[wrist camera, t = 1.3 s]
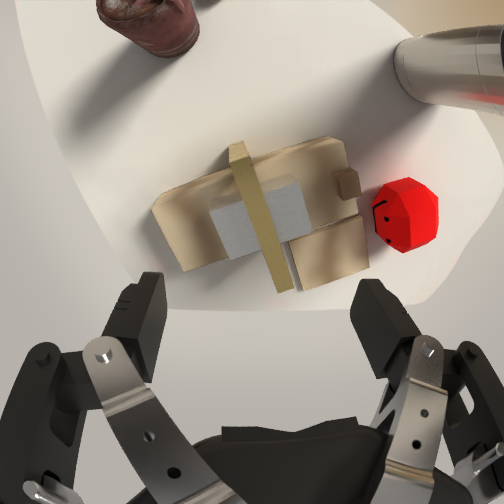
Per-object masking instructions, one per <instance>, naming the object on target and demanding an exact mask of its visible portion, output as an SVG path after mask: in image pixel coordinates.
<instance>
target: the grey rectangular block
mask: <svg viewBox="0 0 504 504" xmlns="http://www.w3.org/2000/svg"><path fill="white" fill-rule="evenodd" d="M260 186H261V189H262V192H263V195H264V198H265V200H266V203H267V206H268V209H269V212H270V215H271V218H272V221H273V224H274V227H275V230H276V233H277V236H278V239H279V242H280V243H283V242H286V241H289V240H292V239H295V238H298V237H300V236H303V235H306V234H309V233H312V232H313V231H312V227H311V224H310V220H309V216H308V212H307V209H306V205H305V202H304V198H303V195H302V191H301V188H300V184H299V181H298V180H297V179H296V178H295V177H294V176H293V175H292V174H291V173H288V174H284V175H281V176H278V177H275V178H272V179H269V180H266V181H263V182H260ZM209 213H210V216H211V218H212V220H213V223H214V225H215V227H216V229H217V232H218V234H219V236H220V238H221V241H222V243H223V245H224V248H225V250H226V252H227V254H228V257H229V259H230V260H233V259H236V258H238V257H241V256H244V255H247V254H250V253H253V252H256V251H259V250H262V249H261V246H260V244H259V241H258V238H257V236H256V233H255V230H254V228H253V225H252V222H251V220H250V217H249V214H248V212H247V209H246V206H245V204H244V201H243V198H242V196H241V193H240V190H238V191H235V192H232V193H229V194H227V195H224V196H221V197H218V198H216V199H213V200H211V206H210V212H209Z"/></svg>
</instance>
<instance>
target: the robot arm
mask: <svg viewBox="0 0 504 504" xmlns="http://www.w3.org/2000/svg"><path fill="white" fill-rule="evenodd" d="M394 66H395V71H396V74H397V77H398V79H399V81H400V83H401V85H402V87H403V88H404V89H405V91H406V92H407V93H408V94H409V95H410V96H411V97H413V98H414V99H416V100H417V101H420V102H422V103H430V104H438V105H445V106H452V107H459V108H465V109H471V110H476V111H481V112H487V113H491V114H496V115H500V116H504V24H498V25H486V26H476V27H468V28H460V29H453V30H447V31H441V32H436V33H431V34H426V35H422V36H417V37H413V38H409V39H405V40H404V41H402V42H401V43H400V44H399V45H398V47H397V49H396V51H395V56H394ZM166 318H167V299H166V291H165V283H164V275H163V273H161V272H143V274H142V276H141V278H140V280H139V283H138V284H130V285H129V286H127V287H126V288H125V289H124V290H123V291H122V292H121V294H120V297H119V299H118V302H117V303H116V305H115V307H114V309H113V311H112V313H111V315H110V318H109V320H108V322H107V324H106V326H105V329H104V331H103V333H102V336H101V337H98V338H95V339H93V340H91V341H90V342H89V343H88V344H87V345H86V346H85V348H84V350H83V351H78V352H68V353H61V351H60V350H59V348H58V347H57V346H56V345H55V344H53V343H50V342H43V343H40V344H37V345H35V346H34V347H33V348H32V349H31V350H30V351H29V352H28V354H27V356H26V358H25V361H24V363H23V365H22V367H21V369H20V371H19V374H18V376H17V378H16V380H15V383H14V385H13V387H12V390H11V393H10V395H9V397H8V400H7V403H6V405H5V408H4V411H3V413H2V416H1V419H0V504H84V503H83V501H82V499H81V497H80V496H79V495H78V494H77V493H76V492H74V491H73V484H74V477H75V470H76V464H77V458H78V453H79V447H80V442H81V437H82V432H83V427H84V423H85V418H86V414H87V410H93V409H102V410H103V412H104V414H105V417H106V419H107V421H108V423H109V425H110V427H111V429H112V431H113V433H114V434H115V436H116V438H117V440H118V442H119V444H120V446H121V447H122V449H123V451H124V453H125V454H126V456H127V457H128V459H129V461H130V463H131V464H132V466H133V467H134V469H135V471H136V472H137V474H138V475H139V477H140V478H141V480H142V481H143V483H144V484H145V486H146V487H145V488H144V489H143V490H142V491H141V492H140V493H138V494H137V495H136V496H135V497H134V498H133V499H131V500H130V501H129V502H128V503H127V504H488V503H489V502H491V501H493V500H495V499H497V498H498V497H500V496H502V495H504V387H503V385H502V383H501V382H500V380H499V378H498V376H497V374H496V373H495V371H494V369H493V368H492V366H491V364H490V363H489V361H488V359H487V358H486V356H485V355H484V353H483V352H482V350H481V349H480V348H479V346H477V345H476V344H474V343H472V342H470V341H464V342H462V343H461V344H460V345H459V347H458V348H457V350H448V349H443V346H442V345H441V344H440V342H439V341H438V340H436V339H435V338H433V337H431V336H428V335H422V334H421V332H420V331H419V329H418V327H417V326H416V324H415V323H414V321H413V320H412V318H411V317H410V315H409V314H407V311H406V310H405V308H404V307H403V305H402V304H401V302H400V301H399V299H398V298H397V297H396V296H395V295H394V294H392V293H391V292H390V291H389V290H387V289H386V288H385V287H384V285H383V284H382V282H381V281H380V280H379V279H361V280H360V282H359V285H358V288H357V291H356V294H355V297H354V300H353V302H352V305H351V309H350V319H351V322H352V324H353V326H354V329H355V331H356V333H357V335H358V337H359V340H360V342H361V344H362V346H363V349H364V351H365V353H366V355H367V357H368V360H369V362H370V364H371V367H372V369H373V372H374V374H375V376H376V379H381V378H388V380H389V381H388V383H387V384H386V386H385V389H384V392H383V395H382V398H381V400H380V403H379V406H378V408H377V411H376V414H375V416H374V419H373V421H372V423H371V424H370V426H364V425H358V422H357V418H356V417H350V418H345V419H337V420H331V421H325V422H322V423H320V424H317V425H314V426H312V427H309V428H306V429H303V430H300V431H297V432H287V431H280V430H274V429H268V428H262V427H224V426H222V435H217V436H213V437H210V438H207V439H204V440H202V441H199V442H198V443H196V444H194V445H191V444H190V443H189V442H188V440H187V439H186V438H185V436H184V435H183V434H182V433H181V431H180V430H179V429H178V427H177V426H176V424H175V423H174V422H173V420H172V419H171V417H170V416H169V415H168V413H167V412H166V410H165V409H164V408H163V406H162V405H161V403H160V402H159V400H158V399H157V397H156V396H155V394H154V393H153V391H152V390H151V389H150V388H147V387H146V385H145V384H144V382H145V383H152V377H153V373H154V368H155V364H156V360H157V355H158V351H159V347H160V342H161V338H162V334H163V330H164V326H165V322H166ZM465 385H466V386H467V388H468V390H469V392H470V394H471V396H472V398H473V401H474V409H473V411H472V413H471V414H470V415H469V413H468V411H467V409H466V406H465V404H464V402H463V400H462V398H461V396H460V394H459V392H460V391H461V390H462V389H463V388H464V386H465ZM442 433H443V436H444V439H445V442H446V444H447V447H448V450H449V453H450V456H451V459H452V463H453V465H454V474H453V475H452V476H451V477H450V476H448V475H447V474H445V473H443V472H442V471H440V470H439V469H437V468H436V467H434V465H435V461H436V457H437V453H438V449H439V444H440V440H441V435H442Z"/></svg>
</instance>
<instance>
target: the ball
mask: <svg viewBox="0 0 504 504" xmlns="http://www.w3.org/2000/svg"><path fill="white" fill-rule="evenodd" d="M372 208H373V215H374V222H375V232H376V233H377V234H378V235H379V236H380V237H381V238H382V239H383V240H384V241H385V242H386V243H387V244H388V245H389V246H391V247H393V248H394V249H396V250H398V251H399V252H401V253H405V252H408V251H410V250H413V249H415V248H418V247H420V246H423V245H425V244H427V243H429V242H430V241H431V240H433V239H434V238H436V234H437V230H438V224H439V216H438V197H437V196H436V195H435V194H434V193H433V192H432V191H431V190H429V189H428V188H427V187H426V186H425V185H423V184H421V183H419V182H418V181H416V180H414V179H412V178H410V177H407V178H404V179H400V180H397V181H393V182H390V183H387V184H384V185H383V187H382V188H381V190H380V192H379V193H378V195H377V197H376V198H375V200H374V202H373V203H372Z"/></svg>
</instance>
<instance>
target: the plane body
mask: <svg viewBox="0 0 504 504" xmlns="http://www.w3.org/2000/svg"><path fill="white" fill-rule="evenodd" d="M251 161H252V163H253V166H254V169H255V172H256V175H257V178H258V180H259V183H260V182H263V181H266V180H269V179H272V178H275V177H278V176H281V175H284V174H288V173H291V174H292V175H293V176H294V177H295V178H296V179H297V180H298V181H299V184H300V188H301V191H302V195H303V198H304V202H305V205H306V209H307V212H308V216H309V220H310V224H311V227H312V229H313V228H316V227H319V226H322V225H325V224H328V223H331V222H334V221H337V220H340V219H343V218H346V217H349V216H352V215H355V214H358V208H357V202H356V197H358V196H361V195H362V192H361V187H360V182H359V177H358V172H356V171H354V170H353V169H351V168H349V163H348V159H347V155H346V151H345V147H344V143H343V141H341V140H338V139H335V138H331V137H328V136H325V137H321V138H318V139H314V140H311V141H307V142H304V143H300V144H297V145H294V146H290V147H287V148H284V149H281V150H278V151H274V152H271V153H268V154H265V155H262V156H259V157H256V158H253V159H251ZM238 190H239V188H238V185H237V183H236V180H235V177H234V175H233V172H232V170H231V167H228V168H225V169H222V170H220V171H217V172H214V173H212V174H209V175H207V176H204V177H201V178H199V179H196V180H194V181H191V182H189V183H186V184H184V185H181V186H179V187H177V188H174V189H172V190H170V191H167V192H165V193H162V194H161V195H160V197H159V198H158V199H157V201H156V202H155V204H154V205H153V206H152V208H151V210H152V212H153V214H154V216H155V218H156V220H157V222H158V224H159V226H160V228H161V230H162V232H163V234H164V236H165V238H166V240H167V241H168V243H169V245H170V247H171V249H172V251H173V253H174V255H175V257H176V259H177V260H178V262H179V264H180V266H181V268H182V270H183V271H184V272H187V271H190V270H192V269H195V268H198V267H201V266H204V265H207V264H210V263H213V262H216V261H219V260H222V259H225V258H228V254H227V252H226V250H225V248H224V245H223V243H222V241H221V238H220V236H219V234H218V232H217V229H216V227H215V225H214V223H213V220H212V218H211V216H210V213H209V212H210V206H211V200H213V199H216V198H218V197H221V196H224V195H227V194H229V193H232V192H235V191H238Z"/></svg>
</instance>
